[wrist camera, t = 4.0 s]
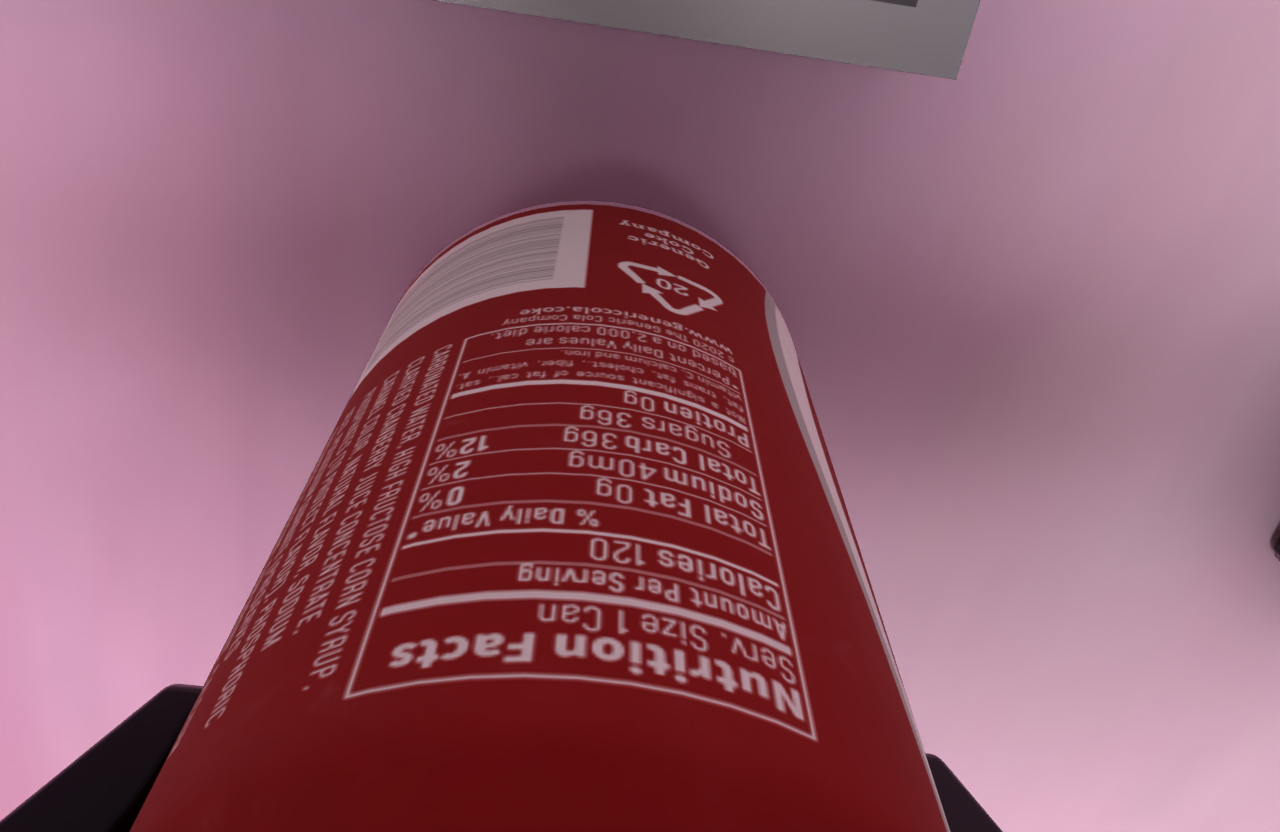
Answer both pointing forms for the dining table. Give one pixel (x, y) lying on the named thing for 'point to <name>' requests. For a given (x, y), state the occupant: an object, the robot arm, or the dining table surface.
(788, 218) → the dining table surface
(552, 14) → the gray rectangular tray
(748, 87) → the dining table surface
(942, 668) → the dining table surface
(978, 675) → the dining table surface
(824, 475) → the soda can
